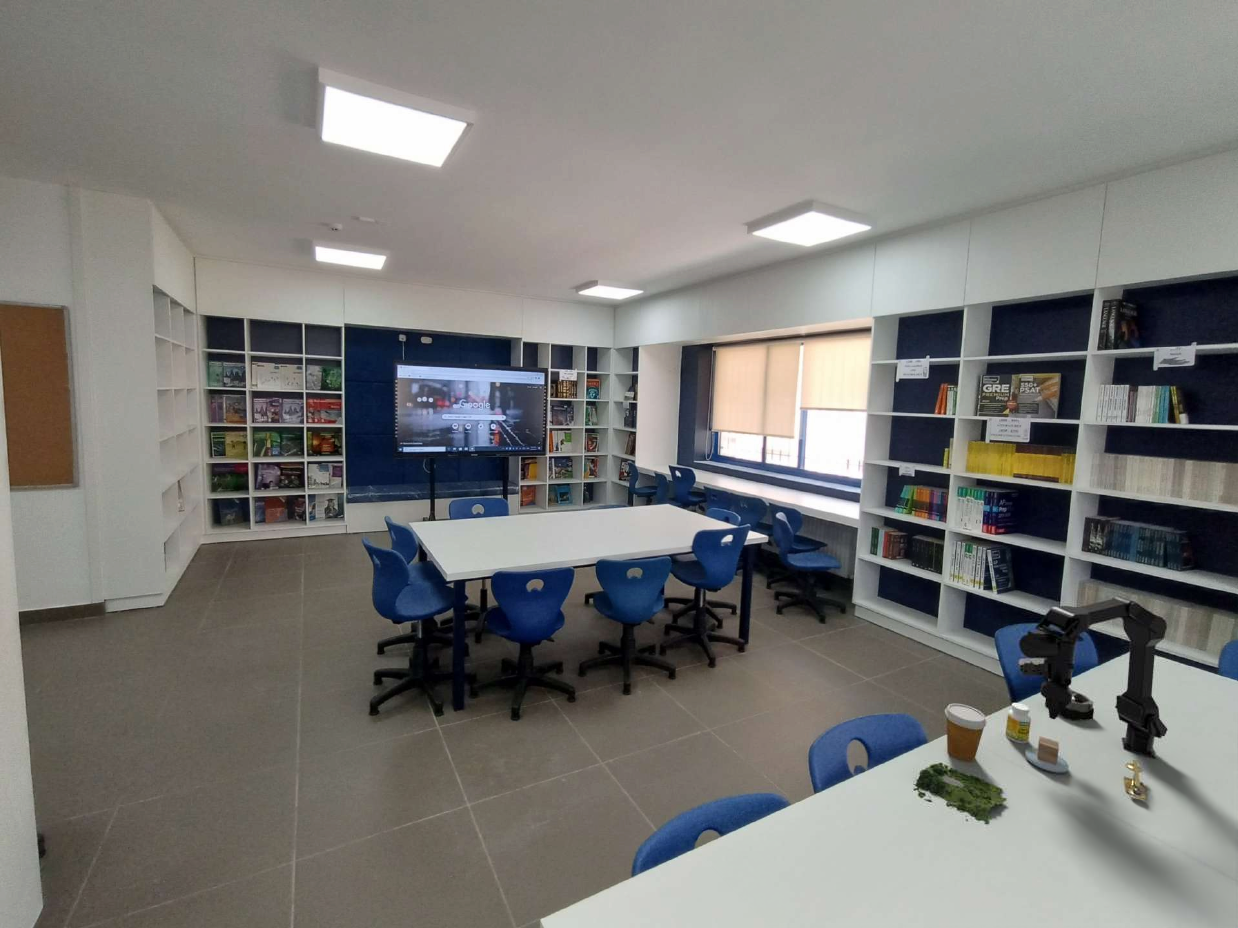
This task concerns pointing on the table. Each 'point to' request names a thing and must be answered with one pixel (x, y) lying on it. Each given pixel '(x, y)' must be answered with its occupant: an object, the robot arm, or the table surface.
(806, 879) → the table surface
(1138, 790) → the brass balance
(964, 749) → the disposable coffee cup
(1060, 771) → the light blue dish
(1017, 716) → the supplement bottle
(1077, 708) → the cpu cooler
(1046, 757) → the walnut block
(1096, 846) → the table surface
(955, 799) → the landscape model
